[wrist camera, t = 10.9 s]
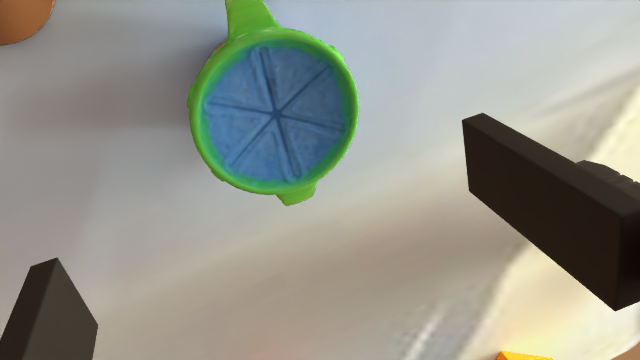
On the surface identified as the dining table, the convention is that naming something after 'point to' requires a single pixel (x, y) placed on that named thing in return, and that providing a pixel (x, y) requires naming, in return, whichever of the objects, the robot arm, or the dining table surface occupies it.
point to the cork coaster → (22, 18)
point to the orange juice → (519, 357)
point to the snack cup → (272, 106)
